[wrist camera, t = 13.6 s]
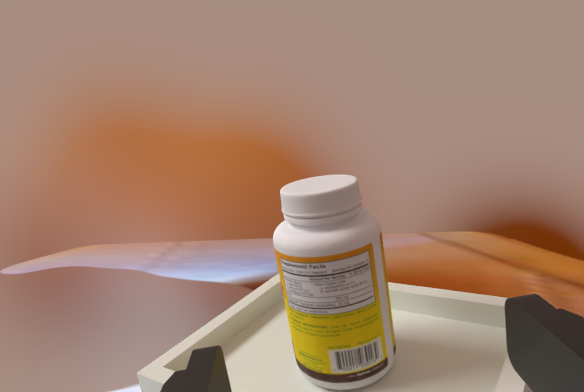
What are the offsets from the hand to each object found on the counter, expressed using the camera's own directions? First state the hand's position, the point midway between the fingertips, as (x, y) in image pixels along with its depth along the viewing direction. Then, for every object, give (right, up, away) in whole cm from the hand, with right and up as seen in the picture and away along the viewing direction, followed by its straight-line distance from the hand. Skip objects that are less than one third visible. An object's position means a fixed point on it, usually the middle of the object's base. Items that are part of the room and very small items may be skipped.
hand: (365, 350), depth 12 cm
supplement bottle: (+1, -5, +12) cm, 13 cm away
